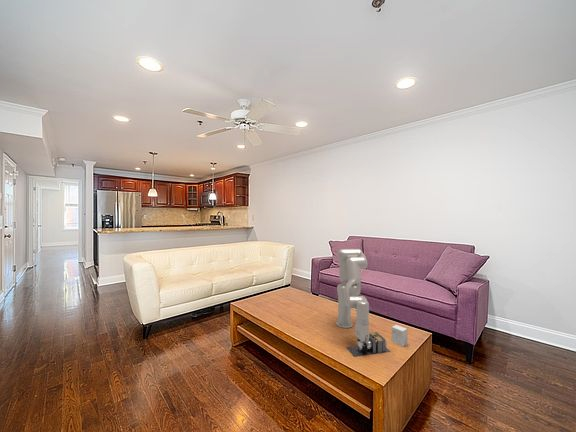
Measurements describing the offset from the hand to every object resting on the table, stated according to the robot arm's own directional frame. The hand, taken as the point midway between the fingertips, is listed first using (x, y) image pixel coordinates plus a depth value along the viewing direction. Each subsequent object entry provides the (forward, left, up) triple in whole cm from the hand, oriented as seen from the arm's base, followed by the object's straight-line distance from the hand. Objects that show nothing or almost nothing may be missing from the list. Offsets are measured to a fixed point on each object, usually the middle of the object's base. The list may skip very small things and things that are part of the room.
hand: (362, 349), depth 160 cm
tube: (0, +6, 0) cm, 7 cm away
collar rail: (0, +4, -1) cm, 4 cm away
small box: (-3, +28, -2) cm, 29 cm away
